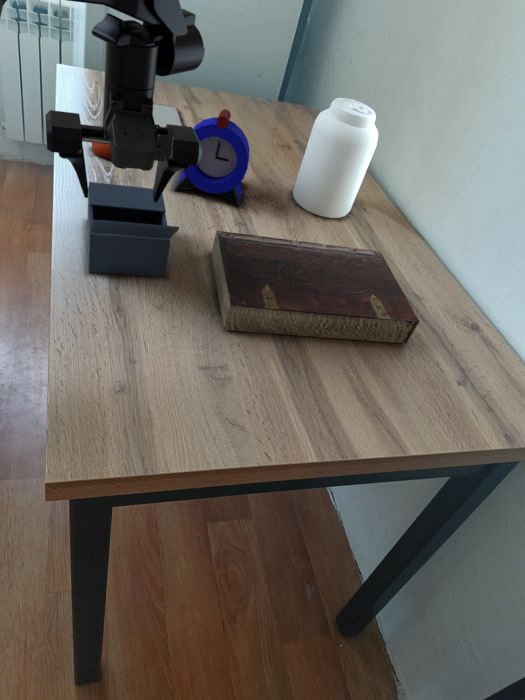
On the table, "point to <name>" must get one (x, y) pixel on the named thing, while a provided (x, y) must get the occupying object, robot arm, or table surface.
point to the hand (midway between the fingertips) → (121, 198)
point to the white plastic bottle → (336, 158)
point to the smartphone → (166, 115)
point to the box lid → (133, 228)
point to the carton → (123, 249)
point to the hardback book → (308, 290)
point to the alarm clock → (218, 159)
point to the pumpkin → (102, 150)
